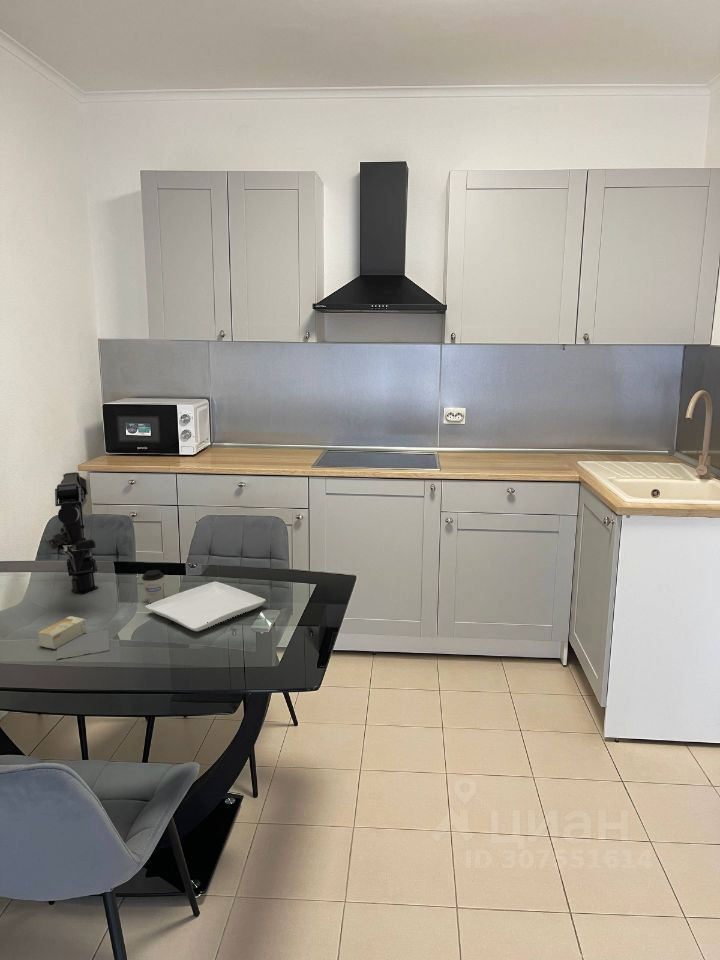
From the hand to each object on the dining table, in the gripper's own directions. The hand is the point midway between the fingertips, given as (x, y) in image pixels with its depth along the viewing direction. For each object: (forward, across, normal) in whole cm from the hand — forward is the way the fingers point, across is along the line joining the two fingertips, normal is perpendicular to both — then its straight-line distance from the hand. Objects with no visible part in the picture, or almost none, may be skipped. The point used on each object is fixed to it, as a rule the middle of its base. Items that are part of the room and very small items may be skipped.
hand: (77, 572), depth 233 cm
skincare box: (+14, +13, -7) cm, 20 cm away
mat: (+19, +22, -10) cm, 31 cm away
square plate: (+17, +30, +27) cm, 44 cm away
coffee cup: (+13, +10, +20) cm, 26 cm away
